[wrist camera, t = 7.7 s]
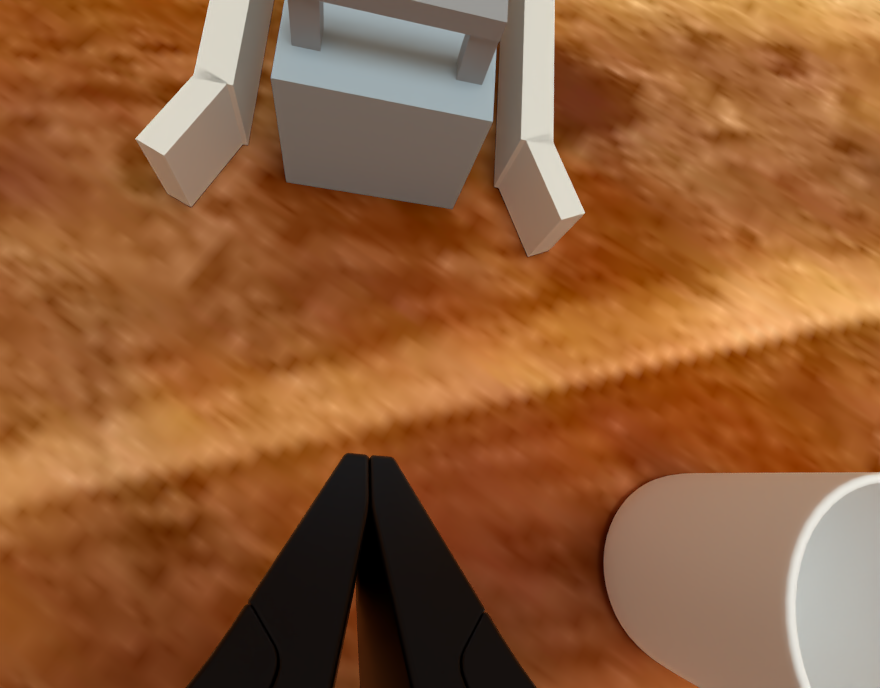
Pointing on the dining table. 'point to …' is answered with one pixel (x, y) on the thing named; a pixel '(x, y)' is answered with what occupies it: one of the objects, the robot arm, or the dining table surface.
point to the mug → (752, 577)
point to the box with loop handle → (386, 94)
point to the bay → (236, 86)
